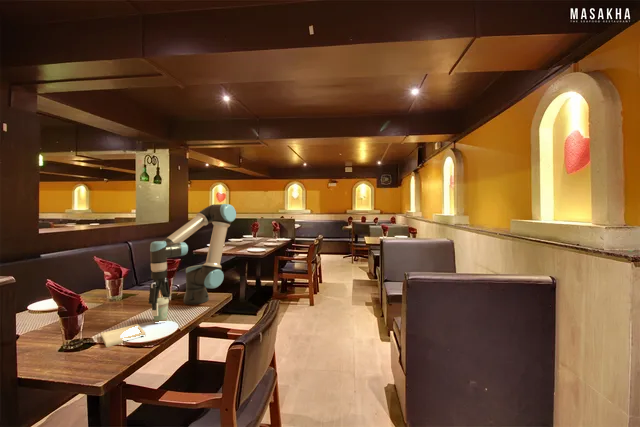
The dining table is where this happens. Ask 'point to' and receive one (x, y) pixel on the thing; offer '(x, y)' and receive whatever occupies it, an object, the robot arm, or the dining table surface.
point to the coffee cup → (162, 309)
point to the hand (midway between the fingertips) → (160, 312)
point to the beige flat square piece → (118, 335)
